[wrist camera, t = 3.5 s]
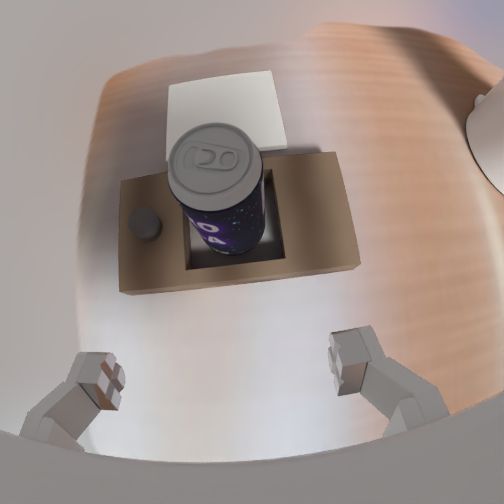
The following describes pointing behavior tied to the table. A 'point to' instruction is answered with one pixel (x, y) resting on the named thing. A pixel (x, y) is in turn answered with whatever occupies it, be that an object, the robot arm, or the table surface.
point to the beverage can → (220, 185)
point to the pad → (228, 108)
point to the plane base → (292, 265)
